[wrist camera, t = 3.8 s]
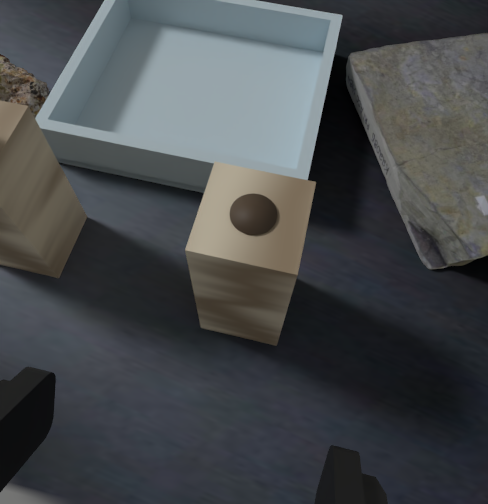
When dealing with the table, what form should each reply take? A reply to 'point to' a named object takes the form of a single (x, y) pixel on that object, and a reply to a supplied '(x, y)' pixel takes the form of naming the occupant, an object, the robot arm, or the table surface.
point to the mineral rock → (21, 87)
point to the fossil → (430, 139)
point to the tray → (193, 90)
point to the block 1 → (34, 198)
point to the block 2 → (248, 250)
